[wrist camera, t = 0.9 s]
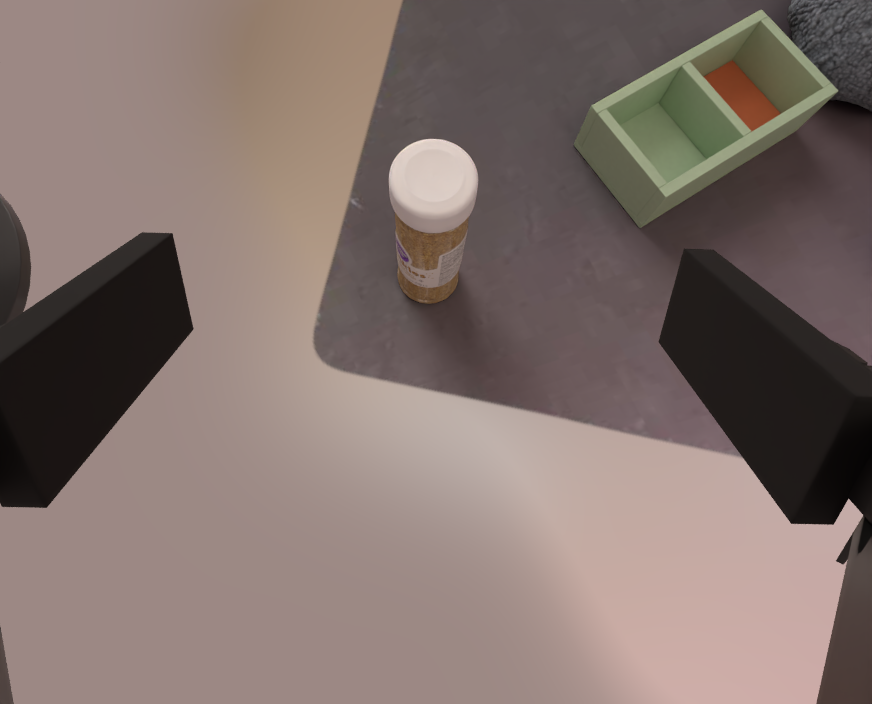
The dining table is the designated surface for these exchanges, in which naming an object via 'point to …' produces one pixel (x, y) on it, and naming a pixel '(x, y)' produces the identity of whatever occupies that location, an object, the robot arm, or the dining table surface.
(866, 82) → the koala plush
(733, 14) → the dining table surface
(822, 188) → the dining table surface
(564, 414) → the dining table surface
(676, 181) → the green divided tray
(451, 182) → the sprinkles bottle
